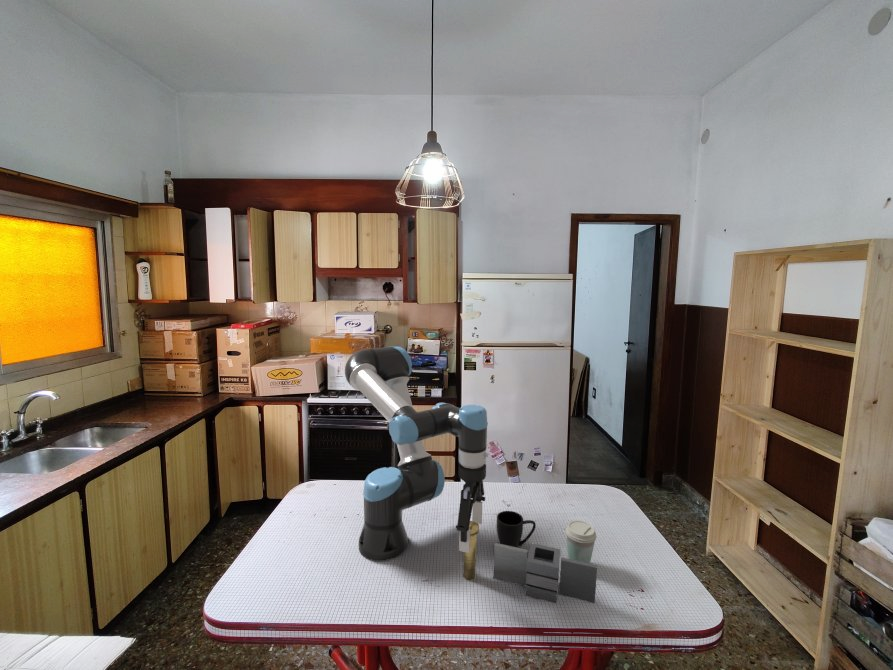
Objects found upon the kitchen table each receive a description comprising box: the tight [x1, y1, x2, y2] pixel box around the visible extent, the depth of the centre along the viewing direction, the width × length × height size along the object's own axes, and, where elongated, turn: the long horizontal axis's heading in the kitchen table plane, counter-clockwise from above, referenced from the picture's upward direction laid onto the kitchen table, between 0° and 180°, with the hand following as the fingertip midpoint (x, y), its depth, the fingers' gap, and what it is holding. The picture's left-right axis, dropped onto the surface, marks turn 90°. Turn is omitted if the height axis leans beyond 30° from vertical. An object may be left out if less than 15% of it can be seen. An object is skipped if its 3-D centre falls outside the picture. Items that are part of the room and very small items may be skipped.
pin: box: [462, 520, 480, 581], centre depth 114 cm, size 5×5×15 cm
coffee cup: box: [565, 519, 597, 564], centre depth 119 cm, size 8×8×12 cm
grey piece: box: [492, 542, 561, 591], centre depth 112 cm, size 17×8×10 cm, turn 72°
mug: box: [496, 510, 537, 548], centre depth 128 cm, size 8×12×10 cm
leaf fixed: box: [525, 542, 598, 604], centre depth 109 cm, size 17×8×10 cm, turn 72°
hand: (471, 536), depth 113 cm, fingers open, 13 cm apart
